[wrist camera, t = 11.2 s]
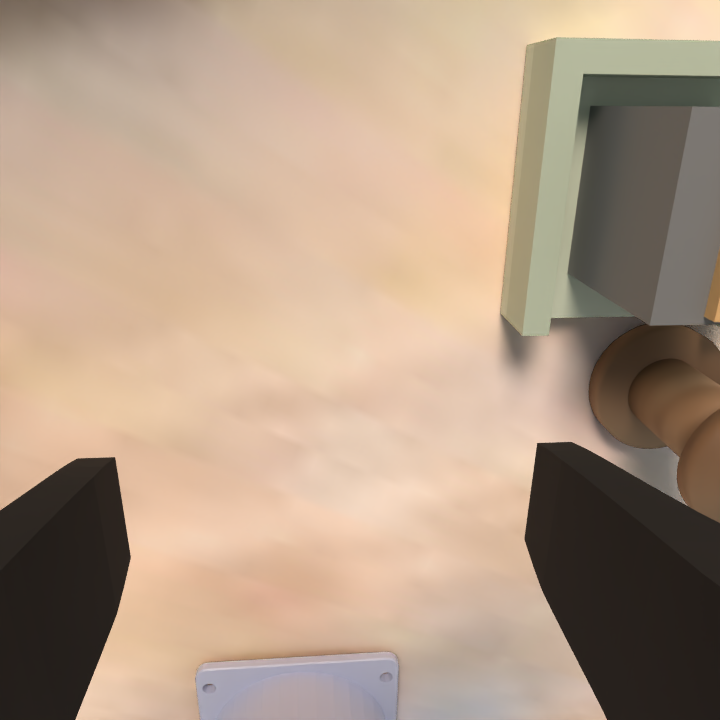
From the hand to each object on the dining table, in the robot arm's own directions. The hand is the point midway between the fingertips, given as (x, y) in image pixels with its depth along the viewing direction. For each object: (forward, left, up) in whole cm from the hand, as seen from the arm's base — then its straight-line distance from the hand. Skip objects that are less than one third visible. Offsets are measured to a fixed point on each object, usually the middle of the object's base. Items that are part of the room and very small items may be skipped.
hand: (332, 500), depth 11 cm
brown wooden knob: (-2, -12, -10) cm, 15 cm away
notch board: (+4, -10, -10) cm, 14 cm away
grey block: (+4, -10, -9) cm, 14 cm away
